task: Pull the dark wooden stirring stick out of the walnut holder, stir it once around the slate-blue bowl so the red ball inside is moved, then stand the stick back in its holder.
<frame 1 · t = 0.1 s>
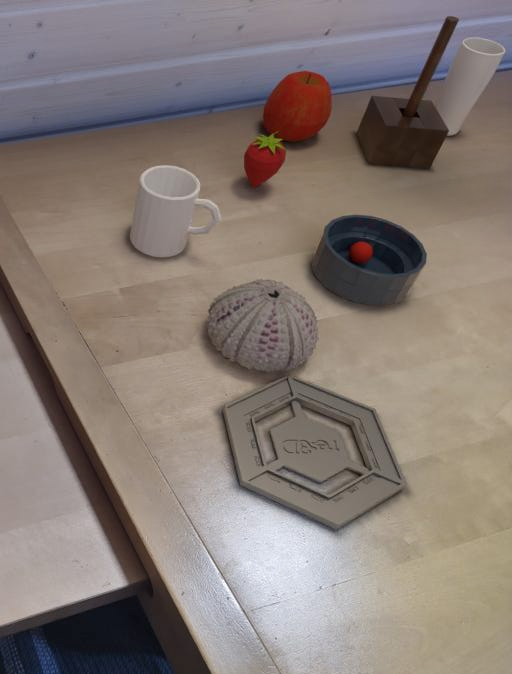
apple: (288, 134, 125), on the table
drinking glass: (441, 130, 128), on the table
stirring stick: (420, 89, 114), in the holder
bowl: (358, 275, 99), on the table
sea urchin shell: (254, 342, 89), on the table
grey hexagonal plate: (308, 448, 78), on the table
strawberry: (254, 187, 113), on the table
mug: (170, 246, 102), on the table
holder: (391, 150, 122), on the table
ball: (360, 252, 99), point 2 cm above the table, touching bowl
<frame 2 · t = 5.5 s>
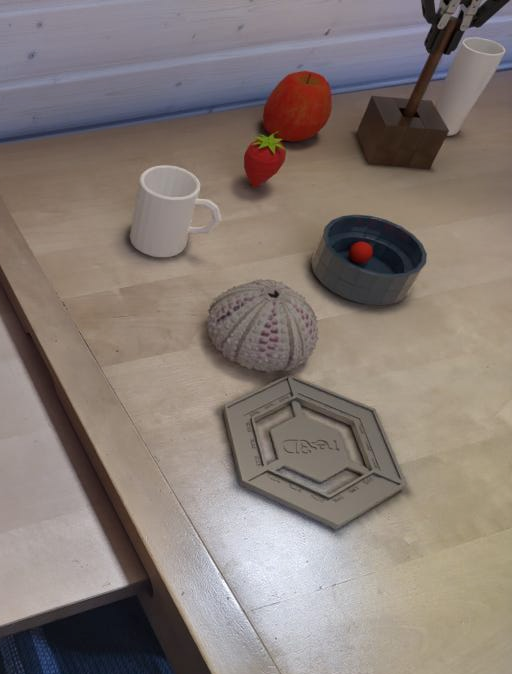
hand: (437, 51, 109), 17 cm above the table, tool pointing down, fingers closed on stirring stick, 2 cm apart
stirring stick: (420, 89, 114), in the holder, touching gripper
everything else where it was.
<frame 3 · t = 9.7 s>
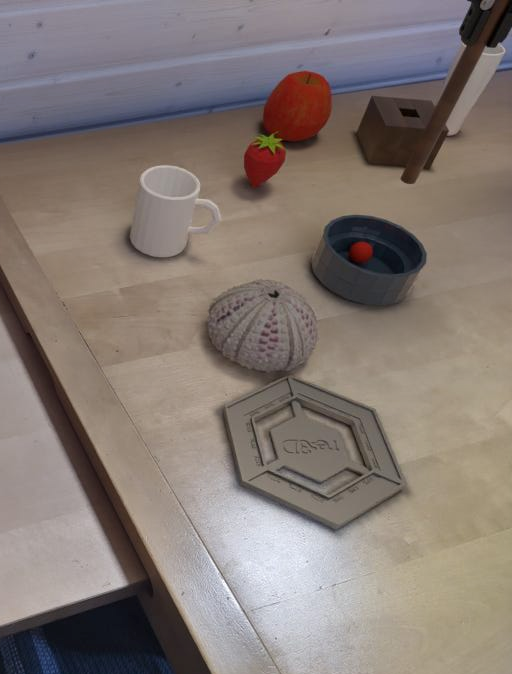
hand: (477, 43, 76), 32 cm above the table, tool pointing down, fingers closed on stirring stick, 2 cm apart
stirring stick: (450, 96, 81), point 26 cm above the table, touching gripper
everything else where it was.
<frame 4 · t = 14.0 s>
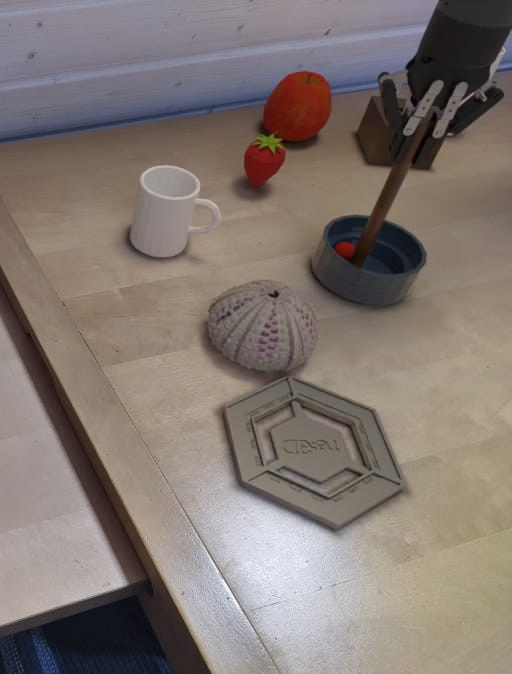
hand: (404, 160, 84), 19 cm above the table, tool pointing down, fingers closed on stirring stick, 2 cm apart
stirring stick: (384, 203, 89), point 13 cm above the table, touching gripper
ball: (343, 252, 99), point 2 cm above the table, tilted 48°, touching bowl
everything else where it was.
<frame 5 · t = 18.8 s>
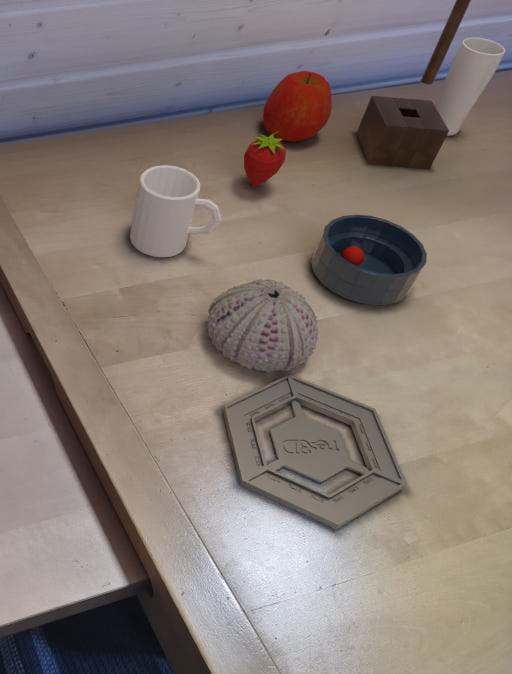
stirring stick: (460, 7, 102), point 24 cm above the table, touching gripper
ball: (352, 257, 98), point 2 cm above the table, tilted 62°, touching bowl
everything else where it was.
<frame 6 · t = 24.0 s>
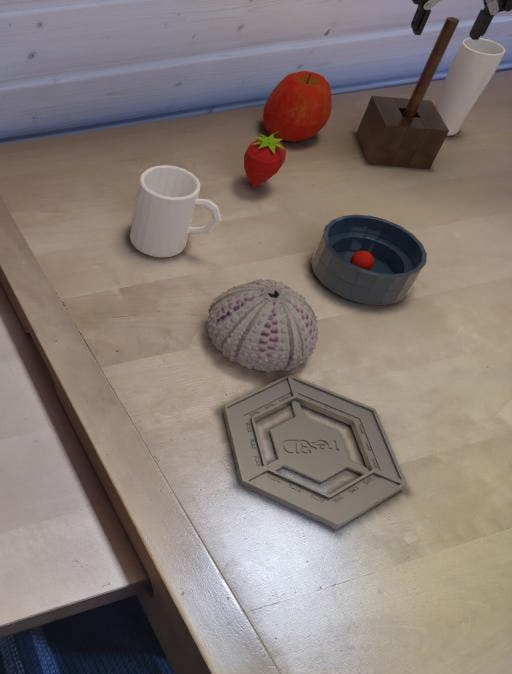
hand: (444, 35, 108), 19 cm above the table, tool pointing down, fingers open, 8 cm apart
stirring stick: (420, 90, 114), in the holder
ball: (361, 261, 97), point 2 cm above the table, tilted 96°, touching bowl
everything else where it was.
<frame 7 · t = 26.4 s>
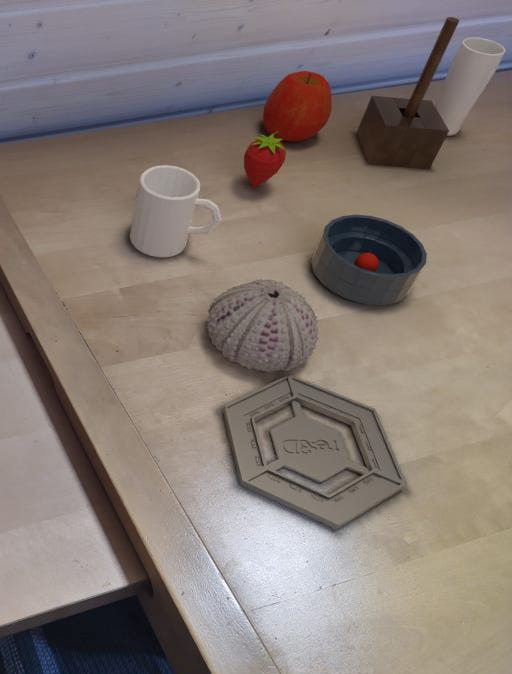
ball: (366, 263, 97), point 2 cm above the table, tilted 112°, touching bowl
everything else where it was.
at the end: ball moved 2.5 cm from its start; ball inside the target area in the bowl (0.3 cm from its centre), point 2.1 cm above the bowl's base; stirring stick 0.3 cm off-centre in the holder, point 11.0 cm above the holder's base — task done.
